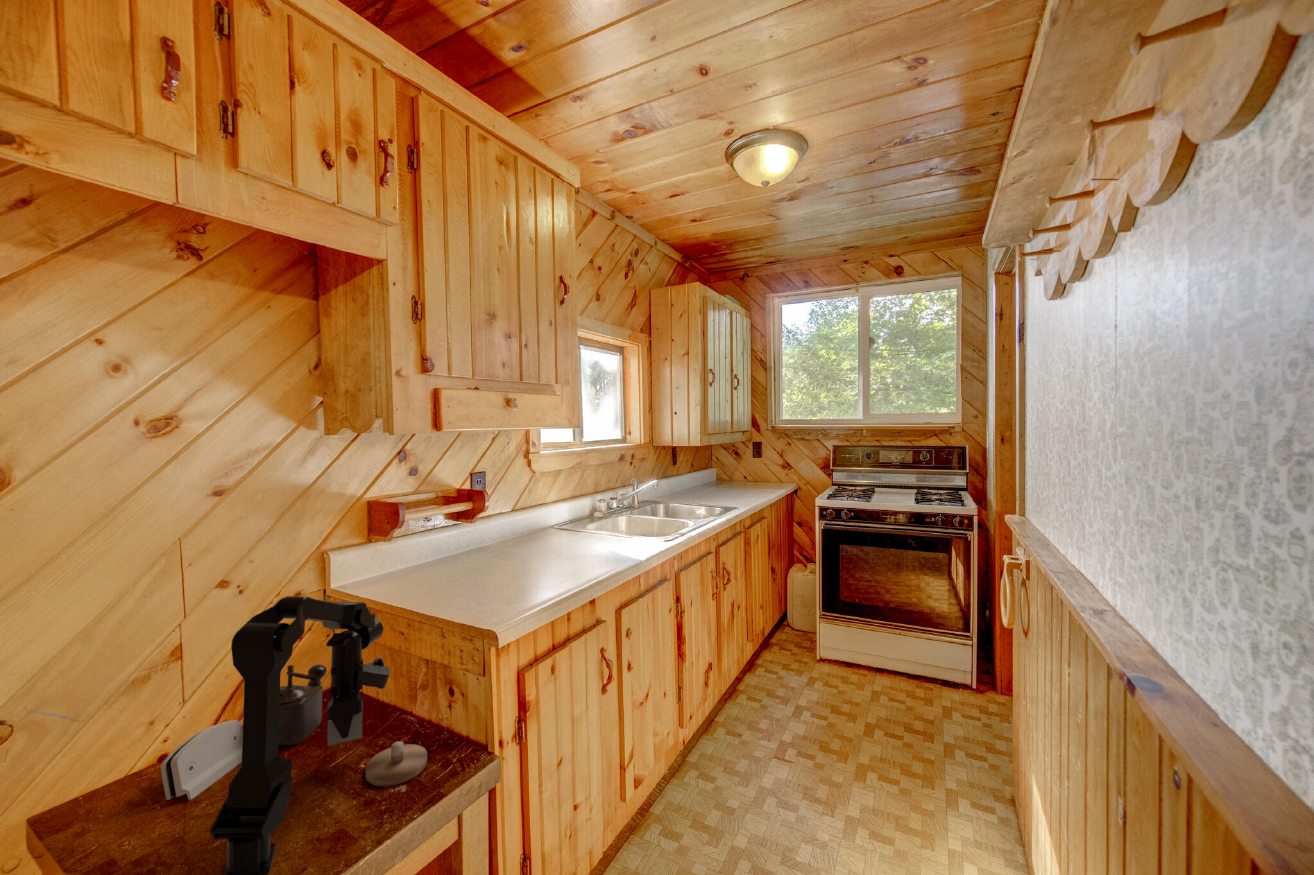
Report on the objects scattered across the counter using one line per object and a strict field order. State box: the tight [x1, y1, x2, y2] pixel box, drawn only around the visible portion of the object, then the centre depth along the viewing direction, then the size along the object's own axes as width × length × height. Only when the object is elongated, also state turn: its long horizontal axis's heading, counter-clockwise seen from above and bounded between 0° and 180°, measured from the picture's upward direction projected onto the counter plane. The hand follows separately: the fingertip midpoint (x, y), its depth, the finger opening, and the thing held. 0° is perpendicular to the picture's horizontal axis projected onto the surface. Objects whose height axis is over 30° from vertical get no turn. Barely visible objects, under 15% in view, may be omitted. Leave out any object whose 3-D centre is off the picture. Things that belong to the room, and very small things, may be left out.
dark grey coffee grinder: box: [278, 664, 328, 746], centre depth 124 cm, size 16×11×18 cm
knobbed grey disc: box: [365, 741, 428, 787], centre depth 112 cm, size 12×12×5 cm
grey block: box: [326, 701, 364, 747], centre depth 113 cm, size 6×6×5 cm
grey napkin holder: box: [160, 719, 243, 801], centre depth 109 cm, size 17×5×10 cm, turn 178°
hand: (345, 729), depth 113 cm, fingers closed on grey block, 6 cm apart
